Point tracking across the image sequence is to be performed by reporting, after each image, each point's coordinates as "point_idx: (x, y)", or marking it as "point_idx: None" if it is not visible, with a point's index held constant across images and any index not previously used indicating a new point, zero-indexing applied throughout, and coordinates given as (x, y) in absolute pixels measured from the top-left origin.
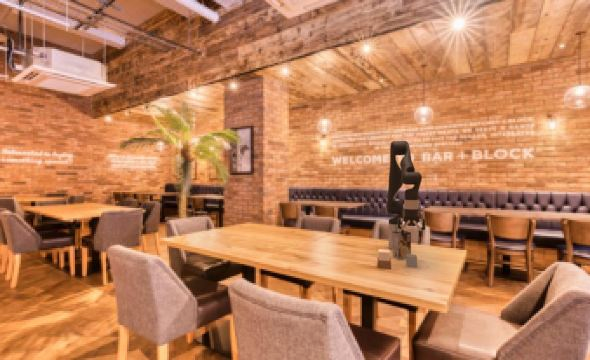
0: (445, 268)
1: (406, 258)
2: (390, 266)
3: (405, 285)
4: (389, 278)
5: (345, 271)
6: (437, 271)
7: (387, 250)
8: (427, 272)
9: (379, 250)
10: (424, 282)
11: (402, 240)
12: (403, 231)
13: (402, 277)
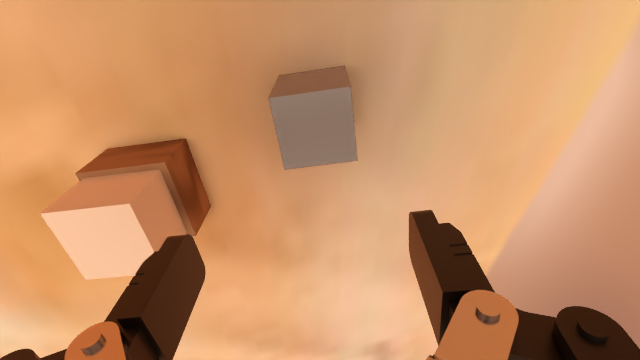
0: (544, 66)
1: (274, 88)
2: (203, 215)
3: (304, 347)
4: (237, 312)
5: (42, 301)
6: (465, 153)
7: (122, 223)
8: (403, 190)
9: (70, 244)
10: (371, 308)
11: None
12: (171, 345)
13: (284, 289)
